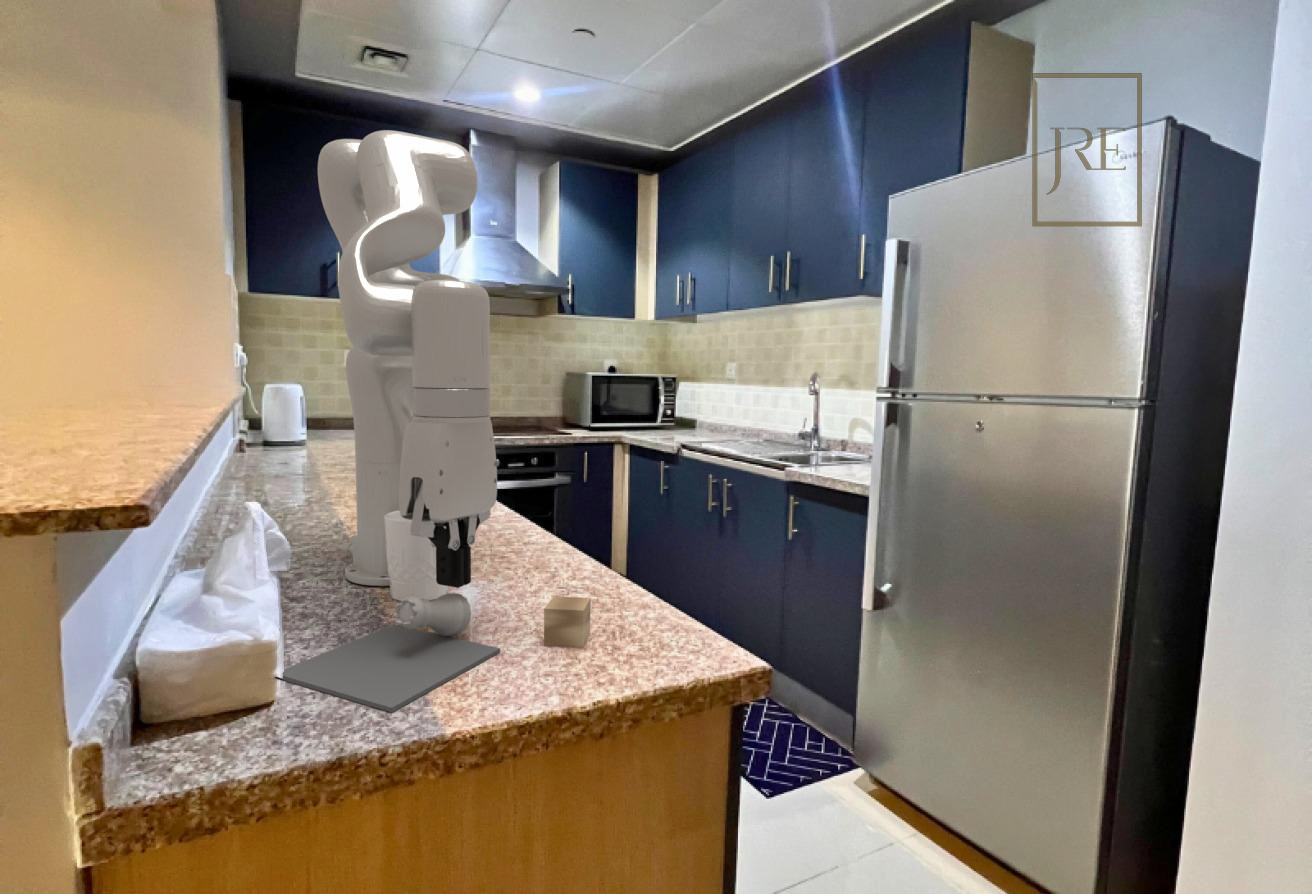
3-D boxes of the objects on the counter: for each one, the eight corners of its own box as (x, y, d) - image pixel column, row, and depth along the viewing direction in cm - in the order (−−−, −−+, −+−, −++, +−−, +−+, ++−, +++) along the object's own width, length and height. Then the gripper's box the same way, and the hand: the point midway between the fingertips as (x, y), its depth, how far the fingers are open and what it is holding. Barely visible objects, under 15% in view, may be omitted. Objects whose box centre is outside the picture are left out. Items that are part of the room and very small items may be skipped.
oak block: (543, 646, 71) (544, 608, 70) (553, 632, 75) (553, 596, 74) (582, 649, 70) (583, 610, 70) (590, 634, 74) (590, 598, 74)
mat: (274, 677, 62) (274, 673, 62) (394, 627, 75) (394, 624, 75) (391, 712, 56) (391, 707, 56) (500, 652, 69) (500, 648, 69)
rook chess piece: (473, 636, 72) (421, 635, 64) (437, 638, 73) (382, 637, 66) (474, 592, 73) (424, 586, 66) (439, 594, 74) (386, 589, 67)
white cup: (425, 608, 81) (424, 523, 80) (371, 599, 84) (369, 517, 83) (465, 589, 89) (465, 511, 88) (415, 581, 91) (414, 506, 90)
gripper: (470, 403, 79) (471, 562, 81) (365, 407, 65) (369, 598, 67) (526, 406, 76) (526, 571, 77) (428, 410, 62) (430, 610, 64)
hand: (453, 583), depth 72 cm, fingers closed
